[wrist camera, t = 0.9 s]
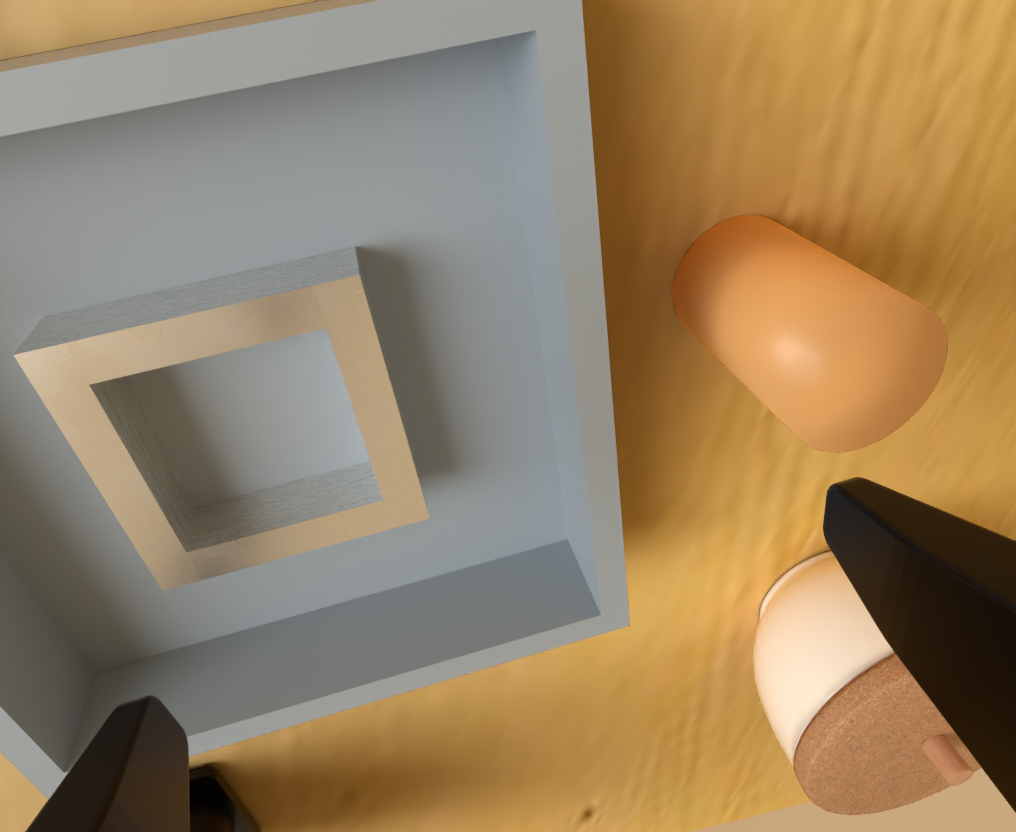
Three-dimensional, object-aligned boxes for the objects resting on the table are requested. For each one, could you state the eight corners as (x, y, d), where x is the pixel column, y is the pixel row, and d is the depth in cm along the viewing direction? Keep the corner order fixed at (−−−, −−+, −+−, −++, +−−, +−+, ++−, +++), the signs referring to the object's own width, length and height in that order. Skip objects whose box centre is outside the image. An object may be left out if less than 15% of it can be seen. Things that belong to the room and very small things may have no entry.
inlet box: (589, 540, 29) (630, 625, 25) (84, 682, 27) (47, 798, 23) (522, -38, 17) (579, -38, 14) (-367, 129, 15) (-582, 183, 12)
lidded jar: (959, 533, 34) (1145, 697, 27) (828, 678, 39) (955, 856, 31) (801, 489, 30) (969, 669, 22) (674, 658, 34) (778, 858, 27)
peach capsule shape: (789, 322, 25) (929, 429, 19) (673, 352, 25) (782, 470, 19) (799, 201, 23) (964, 282, 17) (671, 231, 22) (796, 325, 16)
